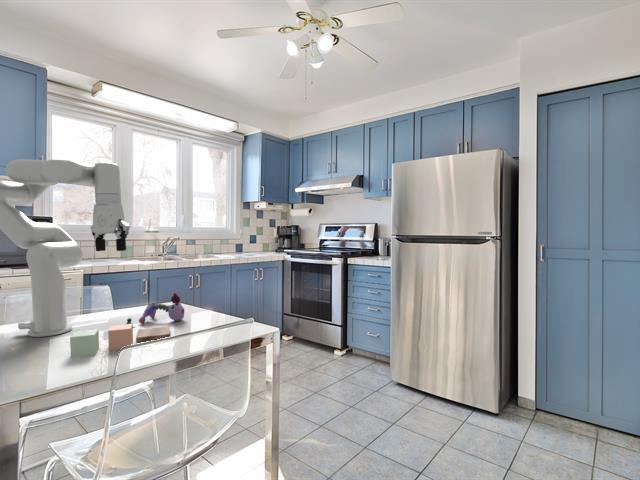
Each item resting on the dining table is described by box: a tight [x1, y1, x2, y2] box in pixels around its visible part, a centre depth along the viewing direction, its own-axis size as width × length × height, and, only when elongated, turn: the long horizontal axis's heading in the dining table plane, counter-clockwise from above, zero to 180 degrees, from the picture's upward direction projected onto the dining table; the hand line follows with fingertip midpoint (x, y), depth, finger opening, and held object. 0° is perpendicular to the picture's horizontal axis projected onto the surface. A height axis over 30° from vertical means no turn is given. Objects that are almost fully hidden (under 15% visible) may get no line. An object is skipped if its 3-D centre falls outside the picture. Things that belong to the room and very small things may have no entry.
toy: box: [138, 292, 185, 325], centre depth 143 cm, size 10×15×15 cm
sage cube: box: [69, 328, 100, 359], centre depth 107 cm, size 6×6×6 cm
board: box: [135, 326, 171, 343], centre depth 123 cm, size 10×10×2 cm
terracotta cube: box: [107, 323, 134, 351], centre depth 113 cm, size 6×6×6 cm
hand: (110, 250), depth 124 cm, fingers open, 9 cm apart
